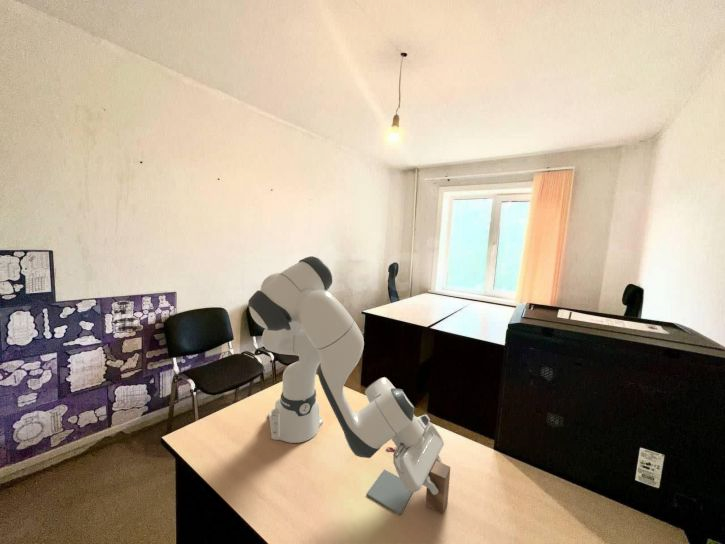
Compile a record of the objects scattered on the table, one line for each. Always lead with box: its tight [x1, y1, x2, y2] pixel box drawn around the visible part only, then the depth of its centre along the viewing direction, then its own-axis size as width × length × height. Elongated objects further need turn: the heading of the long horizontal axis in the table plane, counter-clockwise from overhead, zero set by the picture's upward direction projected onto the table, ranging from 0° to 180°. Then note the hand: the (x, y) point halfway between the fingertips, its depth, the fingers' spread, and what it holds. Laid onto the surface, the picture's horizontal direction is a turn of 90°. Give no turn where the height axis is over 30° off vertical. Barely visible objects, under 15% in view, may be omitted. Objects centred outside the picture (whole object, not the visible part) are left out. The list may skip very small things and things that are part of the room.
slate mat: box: [366, 469, 413, 516], centre depth 79 cm, size 10×10×1 cm
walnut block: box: [425, 460, 451, 515], centre depth 75 cm, size 4×4×10 cm
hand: (440, 484), depth 75 cm, fingers closed on walnut block, 4 cm apart
